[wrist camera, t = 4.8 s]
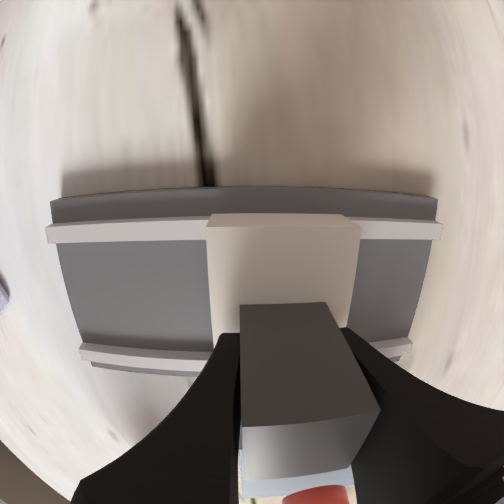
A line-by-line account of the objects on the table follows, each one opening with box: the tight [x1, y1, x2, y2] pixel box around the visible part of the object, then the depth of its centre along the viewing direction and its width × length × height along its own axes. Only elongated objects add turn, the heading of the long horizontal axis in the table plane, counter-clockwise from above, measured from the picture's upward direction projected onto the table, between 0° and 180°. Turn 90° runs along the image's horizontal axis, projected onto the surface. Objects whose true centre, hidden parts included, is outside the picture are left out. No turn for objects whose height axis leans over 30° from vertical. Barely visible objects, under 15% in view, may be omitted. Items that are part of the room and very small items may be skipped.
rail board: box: [45, 186, 443, 377], centre depth 13 cm, size 19×10×2 cm, turn 90°
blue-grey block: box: [239, 426, 354, 498], centre depth 15 cm, size 8×8×5 cm
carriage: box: [206, 213, 381, 480], centre depth 9 cm, size 5×8×7 cm, turn 0°
